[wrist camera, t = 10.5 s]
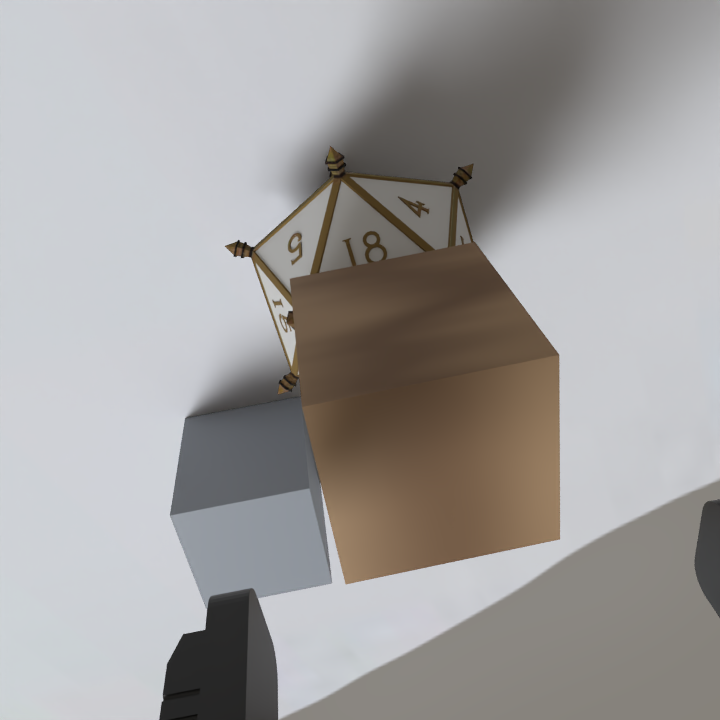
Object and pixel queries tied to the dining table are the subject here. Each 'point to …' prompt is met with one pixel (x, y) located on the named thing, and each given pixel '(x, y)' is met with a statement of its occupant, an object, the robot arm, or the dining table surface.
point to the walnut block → (427, 411)
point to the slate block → (251, 501)
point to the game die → (353, 234)
